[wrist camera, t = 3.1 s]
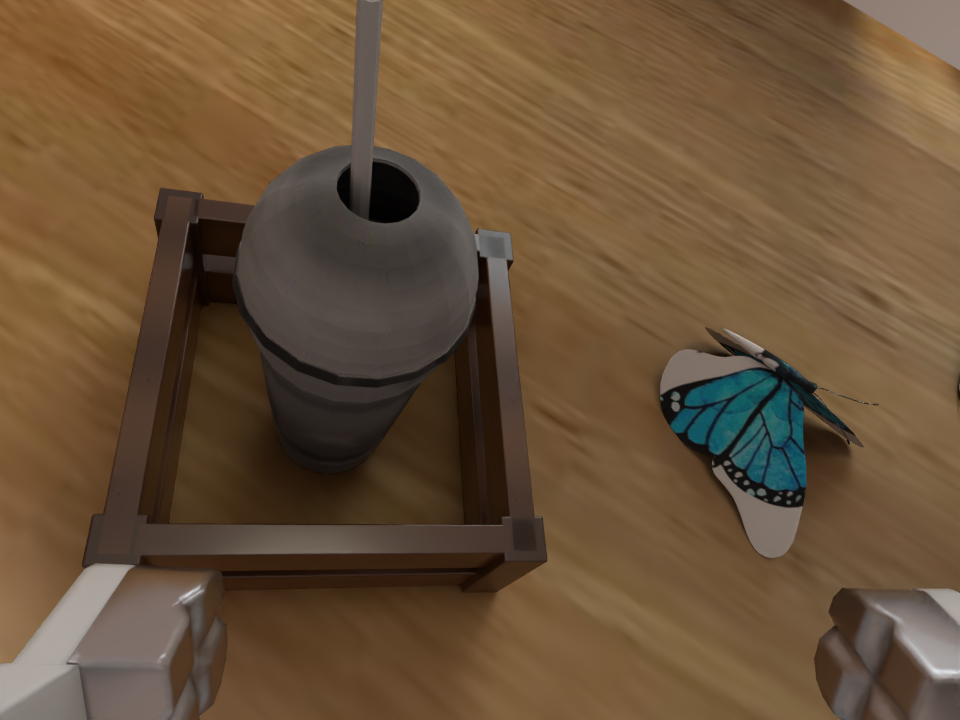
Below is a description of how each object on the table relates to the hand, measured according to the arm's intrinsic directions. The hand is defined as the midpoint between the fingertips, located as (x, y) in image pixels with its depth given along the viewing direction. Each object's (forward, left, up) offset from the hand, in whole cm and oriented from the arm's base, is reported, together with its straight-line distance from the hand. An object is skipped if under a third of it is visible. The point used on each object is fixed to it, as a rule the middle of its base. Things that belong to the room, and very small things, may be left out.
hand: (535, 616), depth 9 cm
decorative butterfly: (-20, +13, -20) cm, 31 cm away
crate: (-9, -6, -19) cm, 22 cm away
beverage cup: (-9, -6, -20) cm, 22 cm away
